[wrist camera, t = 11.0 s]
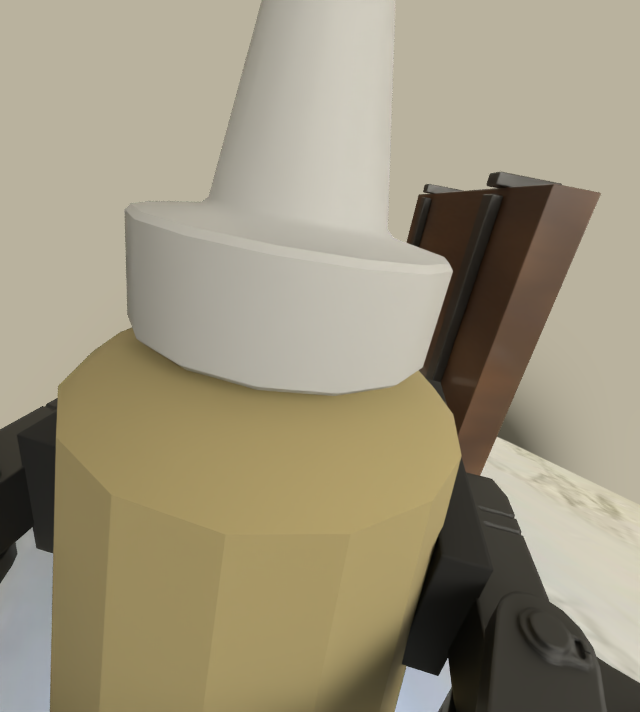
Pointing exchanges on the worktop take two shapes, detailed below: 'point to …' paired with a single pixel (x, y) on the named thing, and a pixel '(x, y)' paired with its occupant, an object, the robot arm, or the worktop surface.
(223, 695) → the squeeze bottle
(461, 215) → the door rack
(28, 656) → the worktop surface
